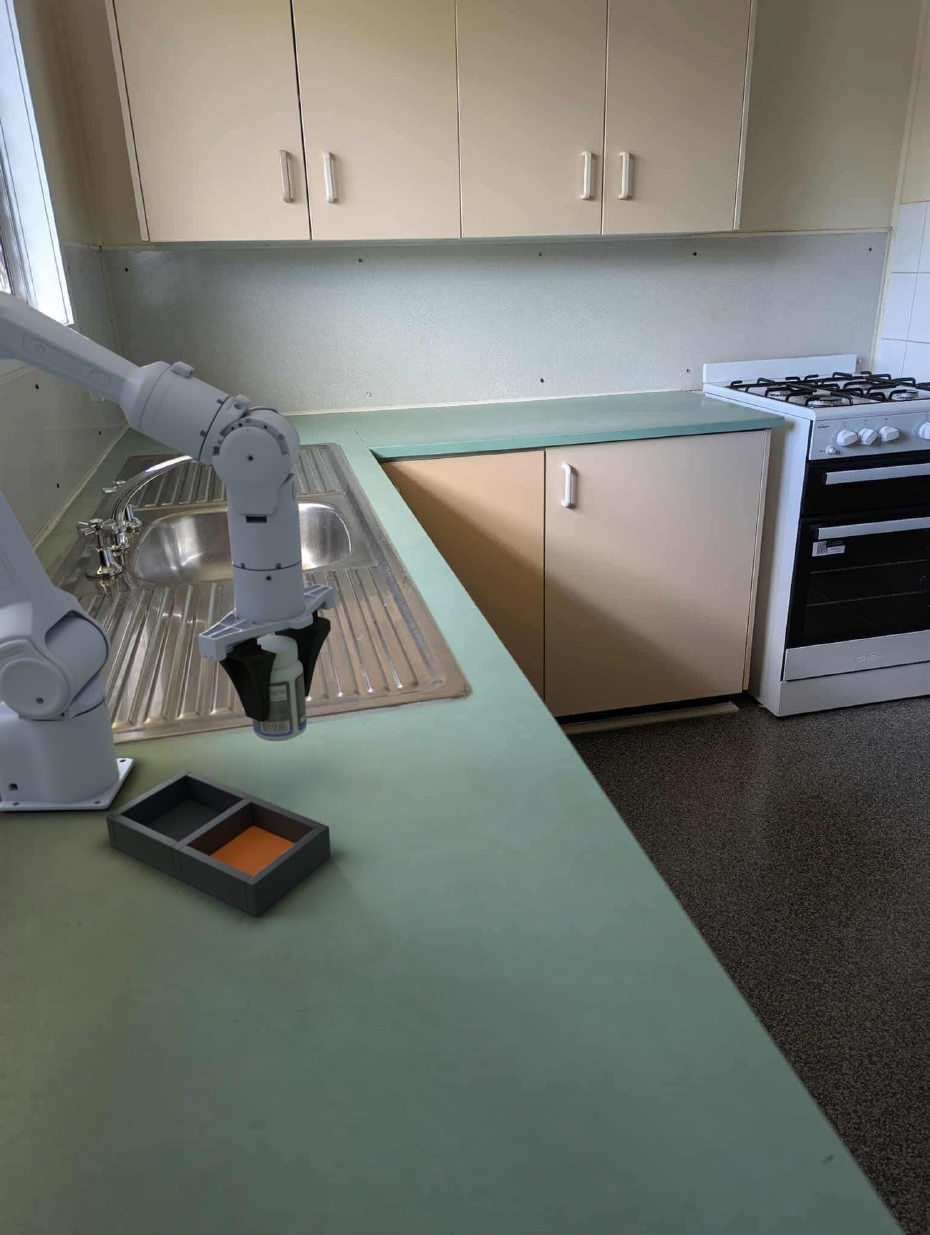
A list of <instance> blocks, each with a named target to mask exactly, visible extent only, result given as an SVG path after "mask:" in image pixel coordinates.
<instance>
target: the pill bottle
mask: <svg viewBox="0 0 930 1235" xmlns="http://www.w3.org/2000/svg"><path fill="white" fill-rule="evenodd" d="M257 643H258V645H259V644H261V648H262V649H264V650H267V651H271V652H274V653H276V654H277V655H276V658H275V661H274V663H273V667H272V672H271V677H270V713H269V718H268V719H267V720H266V721H264V722H261V721H258V720H255V719H252V727H253V728H252V729H253V733H254V734H255V735H256V736H257V737H258V738H260V739H261V740H265V741H268V742H284V741H289V740H291V739H295V738H297V737H299V736H300V735H301V734H303V733H305V731H306V729H307V724H308V723H307V722H308V720H307V708H306V697H305V690H304V677H303V666H302V664H301V662H300V661H299V660H298V659H297V658H298V651H297V643H296V641H295V640H294V639H292V638H290V637H286V636H275V635H268V636H263V637H260V638H258V639H257Z"/></svg>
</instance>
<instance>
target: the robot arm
mask: <svg viewBox="0 0 930 1235" xmlns="http://www.w3.org/2000/svg"><path fill="white" fill-rule="evenodd" d="M1 360H2V361H4V360H16V361H20V362H22V363H24V364H26V365H29V366H31V367H33V368H35V369H37V370H40V371H42V372H43V373H46V374H48V375H52V376H53V377H55V378H59V379H60V380H63V381H65V382H67V383H69V384H72V385H74V386H76V387H79V388H80V389H83V390H85V391H88V392H90V393H92V394H94V395H96V396H98V397H101V398H103V399H106V400H108V401H109V402H112V403H115V404H117V405H119V407H120V408H121V410H122V412H123V414H124V417H125V419H126V421H127V423H128V426H130V428H131V429H132V430H134V431H136V432H138V433H141V434H143V435H145V436H146V437H149V438H151V439H153V440H155V441H157V442H158V443H161V444H163V445H165V446H166V447H169V448H171V449H172V450H175V451H177V452H178V453H181V454H183V455H185V456H187V457H189V458H192V459H194V460H195V461H198V462H199V463H201V464H204V465H205V466H213V469H214V471H215V473H216V475H217V477H218V478H219V480H220V481H221V482H222V483H223V484H224V485H225V490H226V498H227V507H226V514H227V525H228V535H229V536H228V537H229V545H230V546H229V547H230V557H231V559H230V560H231V569H232V570H231V571H232V579H233V580H232V581H233V591H234V602H235V604H234V605H235V608H234V609H233V610H231V611H230V612H229V613H228V614H226V615H225V616H224V617H223V618H222V619H220V620H219V621H218V622H216V624H214V625H213V626H211V627H210V628H209V629H207V630H205V631H203V632H201V633H199V634H198V635H197V639H198V649H199V657H200V658H204V659H206V660H210V661H213V662H217V663H219V665H220V666H221V667H222V668H223V670H224V672H225V674H226V675H227V676H228V678H229V679H230V681H231V683H232V685H233V686H234V689H235V691H236V693H237V695H238V698H239V701H240V703H241V706H242V708H243V712H244V714H245V717H246V718H249V719H251V720H253V719H255V720H258V721H261V722H264V721H266V720H267V719H268V718H269V713H270V677H271V672H272V667H273V663H274V661H275V658H276V655H277V654H276V653H274V652H271V651H267V650H264V649H262V648H261V644H259V645H258V643H257V640H258V639H260V638H263V637H266V636H267V635H269V634H272V633H274V636H286V637H290V638H292V639H294V640H295V641H296V643H297V651H298V658H297V659H298V660H299V661H300V662H301V664H302V666H303V677H304V690H305V698H307V697H309V695H310V691H311V687H312V682H313V678H314V673H315V669H316V665H317V661H318V658H319V654H320V652H321V650H322V647H323V645H324V643H325V641H326V639H327V637H328V636H329V634H330V632H331V631H332V626H331V625H332V624H331V620H330V619H329V618H326V617H323V616H320V615H319V611H320V610H324V611H329V610H331V609H333V608H335V606H336V605H335V604H336V603H335V590H334V589H335V588H334V587H333V586H328V585H324V584H321V583H316V584H313V585H310V586H307V587H304V576H303V554H302V537H301V520H300V506H299V503H298V500H297V494H298V488H297V483H296V474H295V473H294V472H291V471H292V470H293V468H295V465H296V464H297V462H298V460H299V457H300V452H301V440H300V436H299V433H298V430H297V429H296V427H295V425H294V424H293V423H292V421H290V419H288V417H286V416H285V415H284V414H281V413H280V412H279V411H278V409H277V408H275V407H271V406H267V405H259V406H254V407H251V408H250V405H251V404H252V400H251V399H250V398H249V397H247V396H245V395H243V394H242V393H240V394H238V395H236V397H234V396H232V395H230V394H228V393H226V392H225V391H223V390H220V389H219V388H216V387H215V386H213V385H211V384H209V383H207V382H205V381H203V380H201V379H198V378H197V377H195V376H193V375H194V372H195V368H194V367H193V366H191V365H189V364H187V363H185V362H183V361H181V360H180V361H176V362H174V363H173V364H172V365H171V364H169V363H167V362H165V361H163V360H159V361H155V362H152V363H149V364H147V365H143V366H138V365H137V364H135V363H133V362H131V361H129V360H128V359H125V357H123V356H120V355H119V354H117V353H115V352H113V351H112V350H110V349H108V348H106V347H104V346H103V345H100V344H99V343H97V342H96V341H94V340H92V339H91V338H89V337H87V336H85V335H83V334H81V333H80V332H78V331H76V330H74V329H72V328H70V327H69V326H67V325H65V324H64V323H61V322H59V321H58V320H56V319H54V318H52V317H51V316H49V315H47V314H46V313H44V312H42V311H40V310H38V309H36V308H34V307H33V306H31V305H30V304H27V303H26V302H25V301H23V300H21V299H20V298H18V297H17V296H15V295H13V294H11V293H9V292H7V291H3V290H0V361H1ZM290 472H291V473H290ZM111 652H112V643H111V639H110V636H109V634H108V632H107V631H106V630H105V628H104V626H102V624H101V623H100V622H99V621H97V620H96V619H94V618H93V617H92V616H91V615H89V613H87V612H86V611H85V610H84V608H83V606H82V605H81V604H80V602H79V600H78V598H77V597H76V596H75V595H74V594H72V593H71V592H68V591H66V590H63V589H62V588H59V587H57V586H55V585H54V584H53V583H52V581H51V579H50V576H49V575H48V573H47V572H46V570H45V568H44V566H43V564H42V562H41V561H40V559H39V557H38V555H37V553H36V551H35V550H34V548H33V546H32V544H31V542H30V541H29V539H28V537H27V535H26V533H25V531H24V529H23V528H22V526H21V524H20V523H19V520H18V519H17V517H16V515H15V514H14V511H13V510H12V508H11V506H10V504H9V503H8V501H7V498H6V497H5V495H4V494H3V492H2V490H1V489H0V699H1V702H0V797H1V801H0V811H1V812H13V811H14V812H16V811H17V812H19V811H20V812H21V811H24V812H25V811H68V810H69V811H71V810H72V811H73V810H74V811H75V810H79V811H81V810H106V809H108V808H109V807H110V806H111V804H112V803H113V801H114V799H115V798H116V796H117V794H118V792H119V791H120V789H121V787H122V785H123V783H124V782H125V780H126V778H127V777H128V775H129V773H130V772H131V770H132V768H133V766H134V764H135V760H134V759H133V758H118V757H117V752H116V746H115V739H114V733H113V726H112V721H111V714H110V706H109V702H108V694H107V689H106V685H105V683H104V681H103V680H104V679H103V674H102V669H103V668H104V667H105V666H106V664H107V663H108V662H109V659H110V657H111Z"/></svg>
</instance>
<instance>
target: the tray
mask: <svg viewBox="0 0 930 1235" xmlns="http://www.w3.org/2000/svg"><path fill="white" fill-rule="evenodd" d="M105 820H106V827H107V834H108V838H109V845H110V846H111V847H113V848H115V849H117V850H118V851H121V852H122V853H125V854H127V855H129V856H131V857H133V858H135V859H137V860H139V861H141V862H143V863H145V864H147V865H149V866H151V867H153V868H155V869H157V870H160V871H161V872H163V873H166V874H167V875H169V876H171V877H174V878H175V879H178V880H180V881H182V882H183V883H185V884H188V885H189V886H192V887H194V888H195V889H198V890H200V891H202V892H204V893H206V894H208V895H210V896H211V897H214V898H216V899H218V900H221V901H222V902H224V903H226V904H227V905H230V906H233V907H234V908H236V909H239V910H240V911H243V912H244V913H247V914H249V915H250V916H253V917H255V918H258V916H260V915H261V914H262V913H264V911H265V910H267V909H268V908H269V907H270V906H272V905H273V904H275V903H276V902H277V901H278V900H279V899H281V898H282V897H283V896H284V895H285V894H287V892H289V891H291V889H293V888H294V887H295V886H296V885H298V883H300V882H301V881H302V880H304V879H305V878H306V877H307V876H309V874H311V873H312V872H313V871H314V870H316V869H317V868H318V867H319V866H321V865H322V864H323V863H324V862H325V861H327V860H328V859H329V858H330V857H331V855H332V854H331V839H330V838H331V837H330V836H331V835H330V826H329V825H326V824H324V823H321V822H319V821H316V820H315V819H312V818H309V817H307V816H304V815H302V814H299V813H297V812H294V811H292V810H289V809H287V808H284V807H281V806H280V805H277V804H275V803H272V802H269V801H267V800H265V799H262V798H261V797H257V796H255V795H252V794H249V793H247V792H244V791H242V790H239V789H237V788H234V787H232V786H229V785H228V784H225V783H222V782H220V781H217V780H215V779H212V778H210V777H207V776H205V775H202V774H200V773H198V772H195V771H193V770H190V769H188V768H186V769H184V770H182V771H180V772H179V773H176V774H175V775H173V776H172V777H170V778H168V779H167V780H165V781H163V782H162V783H160V784H158V785H156V786H154V787H153V788H151V789H149V790H148V791H146V792H144V793H142V794H141V795H139V796H137V797H135V798H134V799H132V800H131V801H129V802H127V803H125V804H124V805H122V806H120V807H119V808H116V809H115V810H113V811H112V812H110V813H109V814H106V815H105Z"/></svg>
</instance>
